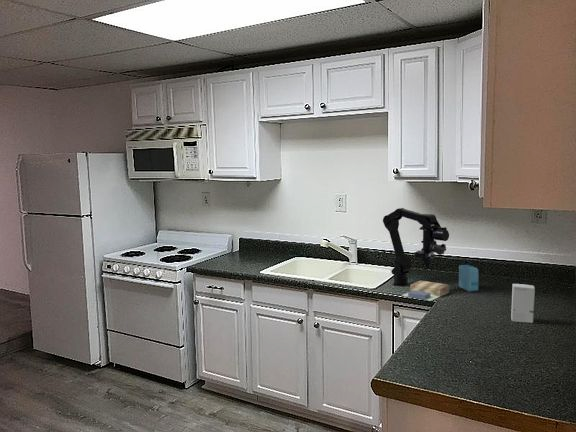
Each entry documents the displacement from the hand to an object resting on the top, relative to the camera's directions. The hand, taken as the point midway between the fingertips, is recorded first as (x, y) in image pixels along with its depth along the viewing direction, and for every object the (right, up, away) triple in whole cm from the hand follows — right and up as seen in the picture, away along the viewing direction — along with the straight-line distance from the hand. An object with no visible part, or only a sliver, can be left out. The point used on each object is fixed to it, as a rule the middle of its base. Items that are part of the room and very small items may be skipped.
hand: (428, 268), depth 255 cm
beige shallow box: (0, -12, -2) cm, 12 cm away
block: (-8, -11, -11) cm, 17 cm away
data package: (+22, -11, +2) cm, 24 cm away
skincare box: (+25, -16, -51) cm, 59 cm away
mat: (-7, -13, -9) cm, 17 cm away
